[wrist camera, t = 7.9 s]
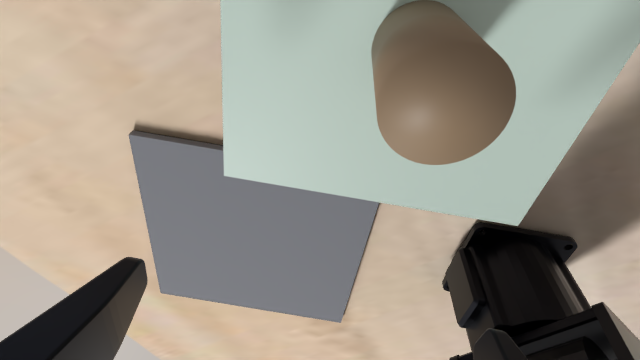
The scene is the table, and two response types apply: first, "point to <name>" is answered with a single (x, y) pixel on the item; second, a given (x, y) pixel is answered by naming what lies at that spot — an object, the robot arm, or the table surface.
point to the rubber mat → (246, 233)
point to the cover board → (337, 106)
